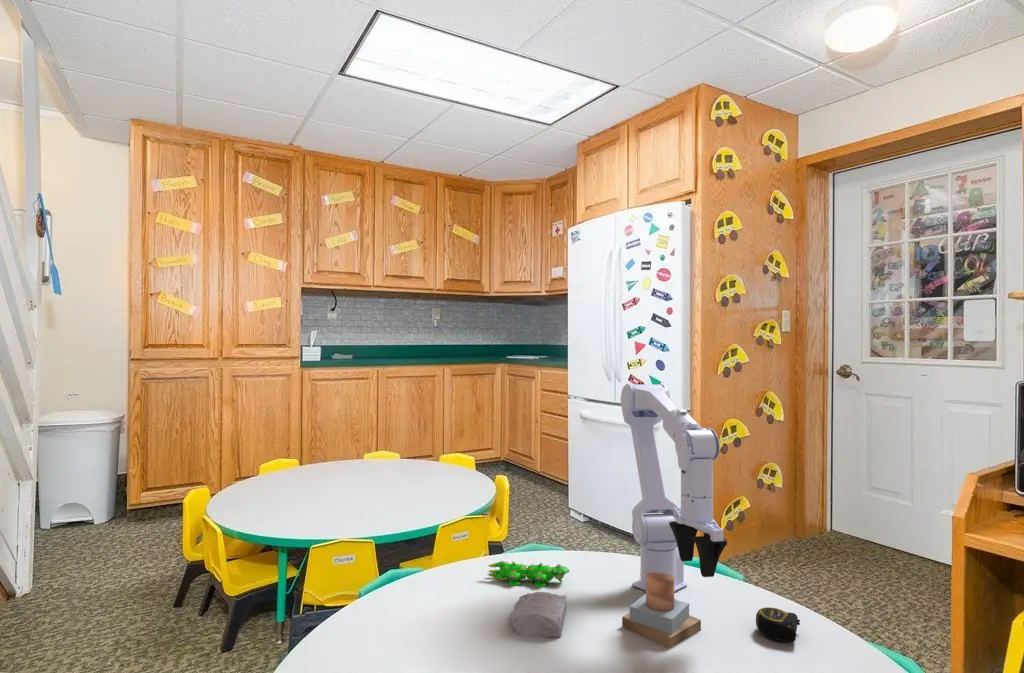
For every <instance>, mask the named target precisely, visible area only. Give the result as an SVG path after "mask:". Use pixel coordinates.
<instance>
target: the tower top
mask: <svg viewBox="0 0 1024 673" xmlns="http://www.w3.org/2000/svg"><path fill="white" fill-rule="evenodd" d="M629 613H630V621H634V622H637V623H640V624H643V625H646V626H649V627H652V628H655V629H658V630H661V631H664V632H667V633H670V634H673V633H674V632H675V631H676V630H677V629H678V628H679V627H680V626H681V625H682V624H683V623H684V622H685V621H686V620H687V619H688V618H689V615H690V603H689V602H686V601H683V600H678V599H675V598H674V609H673V610H671V611H656V610H653V609H651V608H649V607H648V606H647V605H646V593H645V594H643V595H642V596H640V598H639V599H637V600H635V601H634V602H633V603H632V604H630V605H629Z"/></svg>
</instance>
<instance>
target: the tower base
mask: <svg viewBox="0 0 1024 673" xmlns="http://www.w3.org/2000/svg"><path fill="white" fill-rule="evenodd" d="M621 623H622V624H621V627H622V628H623V629H627V631H630V632H633V633H635V634H637V635H639V636H641V637H644V638H646V639H648V640H650V641H652V642H654V643H657V645H661V646H662V647H665V648H667V649H672V648H674V647H675V646H677V645H679V644H681V642H684V641H685V640H688V638H691V637H692V636H694V635H696V634H697V633H699V632H700V631H702V619H700V618H698V617H694V616H692V615H690V614H689V618H688V619H687V620H686V621H685V622H684V623H683V624H682V625H681V626H680V627H679V628H678V629H677V630H676V631H675V632H674V633H673V634H670V633H667V632H664V631H661V630H658V629H655V628H652V627H649V626H646V625H643V624H640V623H637V622H634V621H630V612H629V613H627V614H625V615H623V616H622V618H621Z"/></svg>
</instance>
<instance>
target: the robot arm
mask: <svg viewBox="0 0 1024 673" xmlns="http://www.w3.org/2000/svg"><path fill="white" fill-rule="evenodd" d="M620 405H621V411H622V416H623V421H624V423H626V424H627V425H628V426H630V431H631V436H632V443H633V448H634V454H635V456H634V457H635V460H636V461H635V462H636V467H637V473H638V478H639V486H640V491H641V500H640V501H639V502H638V503H637V504H636V505H635V506H634V507H633V509H632V511H631V518H632V523H631V530H632V535H633V538H634V540H635V541H636V542H637V544H638V545H640V569H639V570H640V579H638V580H636V581H633V582H631V586H632V587H635V588H637V589H640V590H643V591H645V592H646V575H647V574H648V573H651V572H662V573H666V574H669V575H671V576H673V577H674V593H676V592H677V591H679V590H681V589H684V588H685V587H687V586H688V583H687V582H684V580H685V579H684V576H685V575H684V573H685V572H684V571H685V570H684V569H685V567H684V566H685V565H684V564H685V562H690V561H691V562H692V561H693V559H694V558H693V557H694V552H695V546H696V549H697V554H698V560H699V561H698V562H699V570H700V574H701V577H703V578H712V577H715V574H716V570H717V565H718V562H719V560H720V557H721V555H722V553H723V551H724V549H725V547H726V546H727V545H728V539H727V538H725V536H724V531H725V530H724V529H722V528H721V527H720V526H719V524H718V523H717V522H716V520H715V519H714V461H715V460H717V459H718V457H719V456H720V450H721V445H720V439H719V435H717V433H716V431H715V429H714V428H705V427H703V428H702V426H700V424H698V423H697V421H696V420H695V419H694V418H693V417H692V416H691V415H690V414H689V413H688V411H687V410H686V409H685V408H681V409H680V408H677V407H676V406H675V405H674V403H673V402H672V400H671V395H670V390H669V388H668V387H667V386H666V384H663V383H659V384H632V383H625V385H624V386H623V387H622V389H621V395H620ZM661 422H662V428H663V430H664V432H666V434H667V435H668V437H669V438H670V439H671V440H672V441H673V442H674V448H675V453H676V456H677V465H678V468H679V469H680V507H678V506H677V504H676V503H674V501H673V502H672V500H670V499H668V498H667V497H666V494H665V489H664V482H663V477H662V471H661V467H660V460H659V455H658V449H657V444H656V438H655V432H654V426H655V425H658V424H659V423H661ZM698 531H699V532H700V533H701V534H703V535H699V536H698V535H697V534H698Z"/></svg>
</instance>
